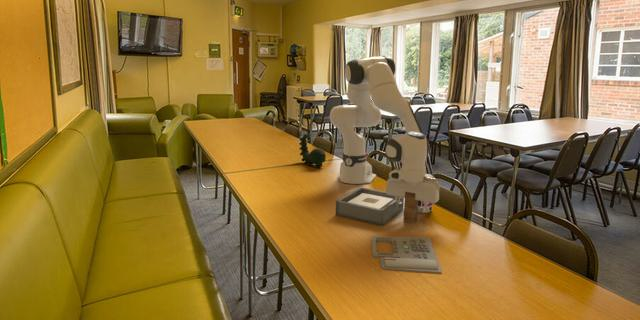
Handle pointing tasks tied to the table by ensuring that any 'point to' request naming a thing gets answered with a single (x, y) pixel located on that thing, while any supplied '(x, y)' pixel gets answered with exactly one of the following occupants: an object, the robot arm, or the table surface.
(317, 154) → the toy figurine
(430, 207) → the supplement can
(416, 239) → the office telephone
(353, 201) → the open box
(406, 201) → the peg
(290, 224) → the table surface
